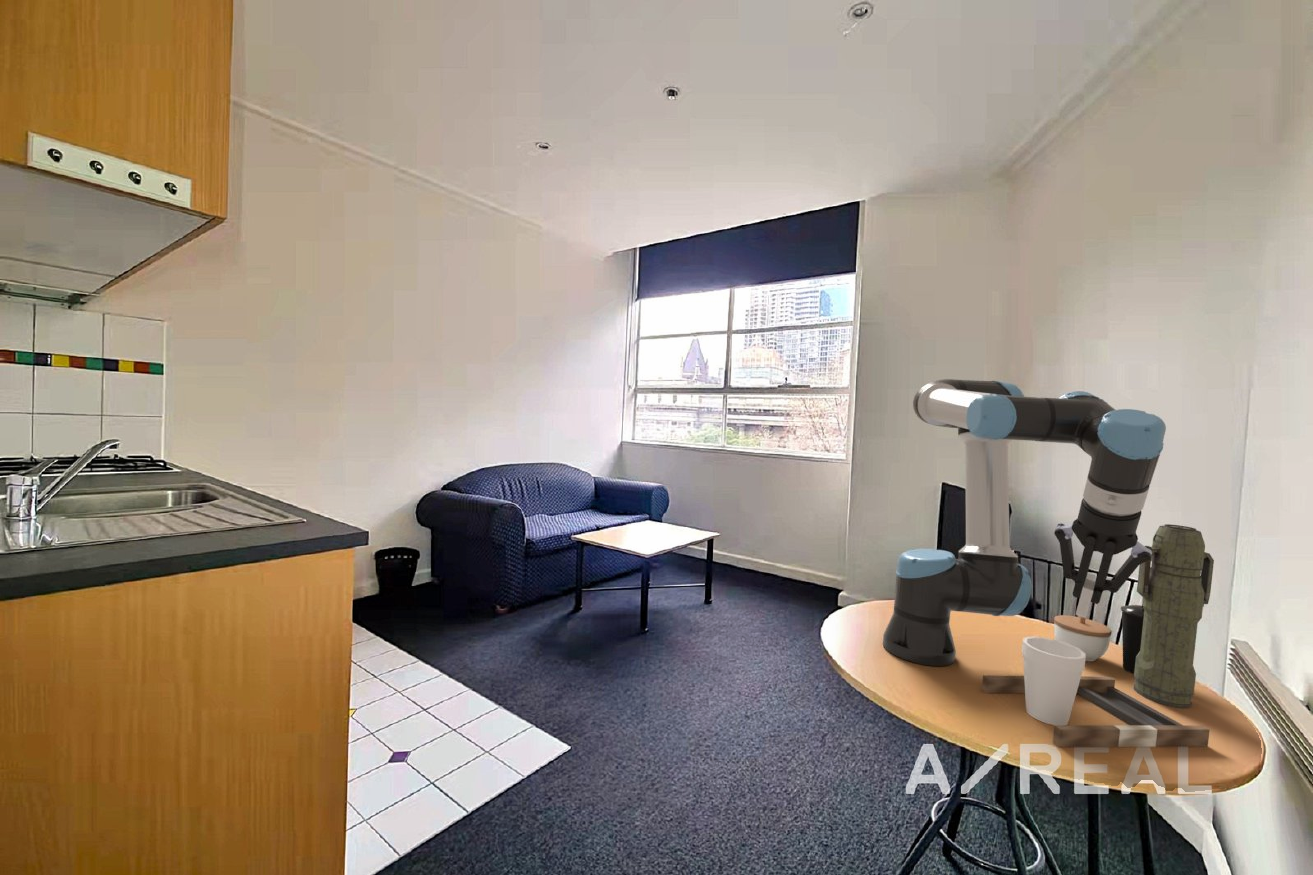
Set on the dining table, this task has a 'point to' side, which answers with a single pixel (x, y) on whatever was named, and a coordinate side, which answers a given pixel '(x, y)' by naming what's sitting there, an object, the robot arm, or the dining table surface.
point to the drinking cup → (1131, 634)
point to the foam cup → (1051, 678)
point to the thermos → (1172, 614)
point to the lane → (1142, 719)
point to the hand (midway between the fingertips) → (1082, 611)
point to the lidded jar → (1083, 635)
